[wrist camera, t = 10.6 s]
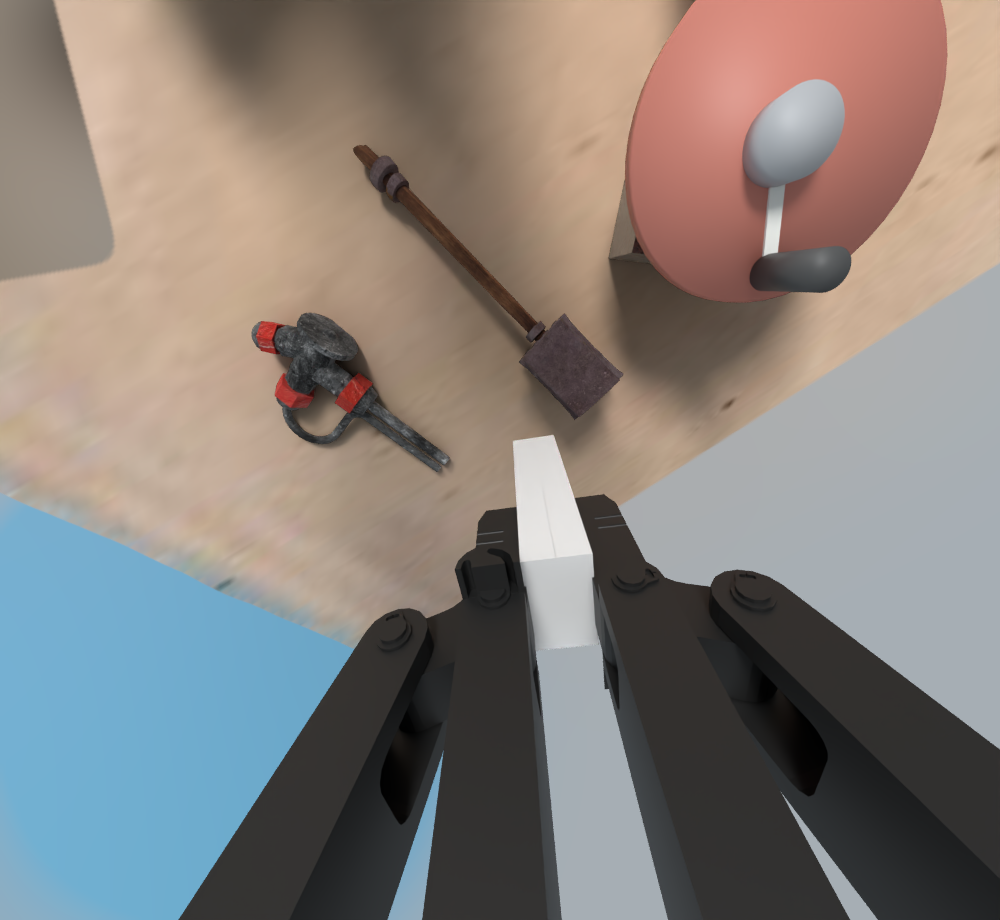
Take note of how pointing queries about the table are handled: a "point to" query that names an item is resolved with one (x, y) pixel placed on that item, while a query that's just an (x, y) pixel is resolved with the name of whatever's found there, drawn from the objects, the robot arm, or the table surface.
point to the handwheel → (780, 139)
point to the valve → (331, 380)
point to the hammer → (513, 308)
